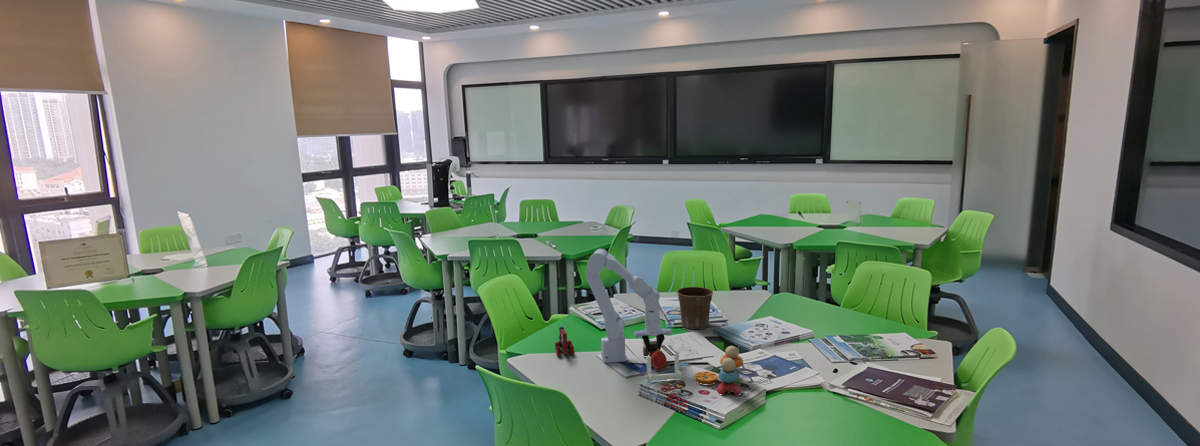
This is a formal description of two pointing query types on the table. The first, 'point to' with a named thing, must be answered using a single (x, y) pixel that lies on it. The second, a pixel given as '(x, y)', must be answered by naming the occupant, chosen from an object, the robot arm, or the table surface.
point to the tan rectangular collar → (645, 351)
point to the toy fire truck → (563, 344)
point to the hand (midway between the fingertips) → (653, 353)
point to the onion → (658, 359)
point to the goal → (663, 376)
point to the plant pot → (695, 306)
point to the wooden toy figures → (725, 372)
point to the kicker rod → (652, 347)
